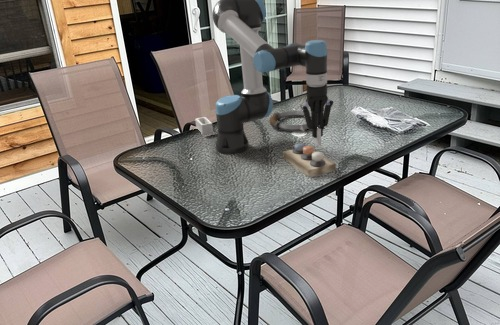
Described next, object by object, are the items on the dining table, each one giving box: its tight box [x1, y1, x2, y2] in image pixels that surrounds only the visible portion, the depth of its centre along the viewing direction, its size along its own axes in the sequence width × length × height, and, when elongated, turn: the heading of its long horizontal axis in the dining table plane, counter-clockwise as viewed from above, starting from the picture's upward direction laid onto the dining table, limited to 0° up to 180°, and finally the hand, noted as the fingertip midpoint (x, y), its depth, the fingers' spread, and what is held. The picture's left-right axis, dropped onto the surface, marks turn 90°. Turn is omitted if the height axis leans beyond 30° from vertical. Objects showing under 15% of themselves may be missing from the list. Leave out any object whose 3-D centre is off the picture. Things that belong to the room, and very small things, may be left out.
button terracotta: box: [303, 145, 315, 155], centre depth 181 cm, size 4×4×2 cm
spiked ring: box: [268, 110, 318, 132], centre depth 230 cm, size 33×4×30 cm
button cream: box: [312, 151, 324, 161], centre depth 174 cm, size 4×4×2 cm
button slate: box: [294, 142, 306, 151], centre depth 188 cm, size 4×4×2 cm
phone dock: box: [194, 116, 214, 135], centre depth 227 cm, size 5×12×6 cm, turn 22°
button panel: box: [282, 147, 337, 178], centre depth 182 cm, size 12×22×4 cm, turn 22°
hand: (317, 144), depth 172 cm, fingers closed
